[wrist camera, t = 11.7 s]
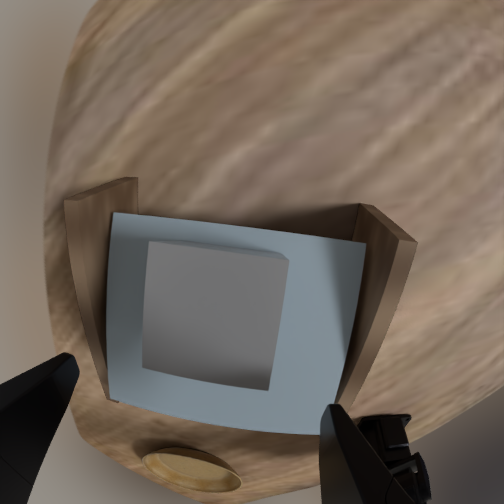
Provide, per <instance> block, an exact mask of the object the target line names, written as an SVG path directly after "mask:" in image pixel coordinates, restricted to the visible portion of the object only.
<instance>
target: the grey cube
mask: <svg viewBox="0 0 504 504" xmlns="http://www.w3.org/2000/svg"><path fill="white" fill-rule="evenodd" d="M288 267H289V259H288V258H286V257H285V256H284V255H283V254H282V253H276V252H269V251H261V250H254V249H246V248H239V247H231V246H224V245H216V244H208V243H201V242H193V241H186V240H184V241H149V247H148V257H147V267H146V279H145V293H144V310H143V334H142V368H145V369H149V370H153V371H157V372H161V373H166V374H170V375H174V376H179V377H184V378H188V379H193V380H199V381H204V382H209V383H215V384H221V385H227V386H234V387H240V388H248V389H255V390H264V391H268V390H269V385H270V379H271V374H272V368H273V362H274V357H275V351H276V345H277V339H278V333H279V327H280V320H281V314H282V308H283V301H284V295H285V288H286V281H287V274H288Z"/></svg>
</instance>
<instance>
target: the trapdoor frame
mask: <svg viewBox="0 0 504 504" xmlns="http://www.w3.org/2000/svg"><path fill="white" fill-rule="evenodd" d="M114 212H115V213H125V214H135V215H138V178H136V177H124V178H121V179H118V180H115V181H113V182H110V183H107V184H104V185H101V186H99V187H96V188H93V189H90V190H88V191H85V192H83V193H80V194H77V195H75V196H72V197H70V198H67V199H65V200H64V213H65V224H66V233H67V242H68V249H69V256H70V263H71V269H72V275H73V280H74V286H75V291H76V296H77V300H78V305H79V309H80V314H81V318H82V322H83V326H84V330H85V333H86V337H87V341H88V344H89V348H90V351H91V354H92V358H93V361H94V364H95V367H96V370H97V373H98V376H99V379H100V382H101V385H102V388H103V390H104V393H105V396H106V398H107V400H110V401H113V402H116V403H118V402H119V401H117V400H114V399H111V398H110V393H109V381H108V366H107V338H106V307H107V279H108V263H109V250H110V240H111V230H112V222H113V214H114ZM352 241H353V242H359V243H366V250H365V258H364V265H363V272H362V278H361V284H360V290H359V296H358V302H357V307H356V313H355V318H354V323H353V328H352V332H351V337H350V342H349V346H348V350H347V355H346V359H345V363H344V367H343V371H342V375H341V379H340V383H339V386H338V390H337V394H336V397H335V401H334V404H340V405H341V406H342V407H343V408H344V410H345V411H346V412H347V413H348V411H349V409H350V407H351V405H352V404H353V402H354V400H355V398H356V396H357V394H358V392H359V391H360V389H361V387H362V385H363V383H364V381H365V379H366V377H367V375H368V373H369V371H370V369H371V366H372V364H373V362H374V360H375V358H376V356H377V354H378V351H379V349H380V347H381V345H382V342H383V340H384V338H385V335H386V333H387V331H388V328H389V326H390V323H391V321H392V318H393V316H394V313H395V311H396V308H397V305H398V303H399V300H400V297H401V294H402V292H403V289H404V286H405V283H406V280H407V277H408V274H409V271H410V268H411V265H412V261H413V258H414V255H415V252H416V248H417V245H418V242H417V241H415V240H414V239H413V238H412V237H411V236H410V235H408V234H407V233H406V232H405V231H404V230H403V229H401V228H400V227H399V226H398V225H397V224H395V223H394V222H393V221H392V220H391V219H389V218H388V217H387V216H386V215H384V214H383V213H382V212H381V211H380V210H378V209H377V208H376V207H374V206H372V205H367V204H362V203H360V204H359V209H358V214H357V219H356V224H355V228H354V233H353V237H352Z"/></svg>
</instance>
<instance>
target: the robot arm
mask: <svg viewBox="0 0 504 504" xmlns="http://www.w3.org/2000/svg"><path fill="white" fill-rule="evenodd" d="M79 373H80V371H79V368H78V365H77V362H76V359H75V357H74V356H73V355H72V354H69V353H66V352H64V353H61V354H59V355H57V356H55V357H54V358H51V359H50V360H48V361H46V362H44V363H42V364H40V365H38V366H36V367H34V368H32V369H30V370H28V371H26V372H24V373H22V374H20V375H18V376H16V377H14V378H12V379H10V380H8V381H7V382H4V383H2V384H0V504H27V502H28V499H29V496H30V493H31V491H32V488H33V485H34V482H35V480H36V477H37V475H38V472H39V470H40V467H41V465H42V462H43V460H44V457H45V455H46V453H47V450H48V448H49V446H50V443H51V441H52V439H53V437H54V435H55V432H56V430H57V428H58V426H59V424H60V422H61V419H62V417H63V415H64V413H65V411H66V409H67V407H68V404H69V402H70V399H71V396H72V393H73V391H74V388H75V385H76V383H77V380H78V378H79ZM410 420H411V415H397V416H383V417H366V418H363V419H362V420H361V421H360V423H359V424H358V426H356V425H355V424H354V422H353V421H352V419H351V418H350V417H349V415H348V414H347V412H346V411H345V410H344V408H343V407H342V406H341V405H340V404H328V405H327V407H326V409H325V411H324V413H323V415H322V417H321V421H320V444H319V471H320V484H321V499H322V504H427V501H429V500H431V499H432V497H431V488H430V481H429V475H428V472H427V469H426V465H425V462H424V460H423V459H422V457H421V455H420V453H419V452H417V453H415V454H414V455H412V456H411V453H410V449H409V446H408V445H409V442H408V438H407V435H406V432H405V426H406V425H407V424H408V422H409V421H410ZM415 471H418V472H417V473H414V472H415Z"/></svg>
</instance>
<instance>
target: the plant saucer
mask: <svg viewBox="0 0 504 504" xmlns="http://www.w3.org/2000/svg"><path fill="white" fill-rule="evenodd" d="M142 463H143V465H144V467H145V468H146V469H147V470H148V471H149V472H151V473H152V474H153V475H155V476H156V477H158V478H160V479H161V480H163V481H165V482H168V483H170V484H172V485H175V486H178V487H181V488H184V489H188V490H193V491H198V492H205V493H228V492H233V491H235V490H238V489H239V488H241V487H242V485H243V482H242V480H241V478H240V477H239V475H238V474H237V473H236V472H235V471H234V470H233V469H232V468H231V467H230V466H229V465H228V464H227V463H226V462H224V461H223V460H221V459H219V458H217V457H215V456H213V455H210V454H207V453H204V452H201V451H197V450H193V449H188V448H179V447H170V448H164V449H160V450H157V451H154V452H151V453H149V454H147V455H146V456H144V457H143V458H142Z"/></svg>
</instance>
